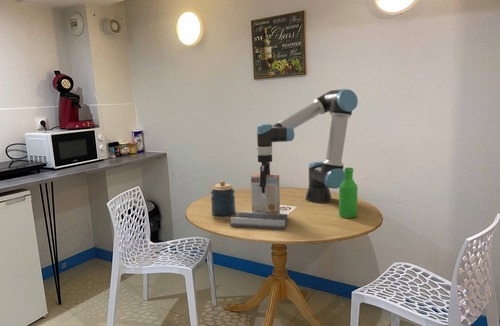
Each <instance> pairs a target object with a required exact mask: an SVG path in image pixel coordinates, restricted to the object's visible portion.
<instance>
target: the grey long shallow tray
mask: <svg viewBox="0 0 500 326" xmlns="http://www.w3.org/2000/svg"><path fill="white" fill-rule="evenodd" d="M288 221H289V218H288V213H279V214H275V213H255V212H252V211H250V212H249V211H235V216H232V217H230V227H235V228H246V229H247V228H249V229H265V230H266V229H267V230H281V231H284V230H285V229H286V227H287V225H288V223H289V222H288Z"/></svg>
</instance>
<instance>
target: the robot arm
mask: <svg viewBox="0 0 500 326" xmlns="http://www.w3.org/2000/svg"><path fill="white" fill-rule="evenodd" d="M358 100H359V99H358V96H357V94H356V93H355V92H354V91H353V90H352V89H348V88H347V89H346V88H342V89H333V90H329V91H328V92H325V93H324V94H322V95H320V96H319V97H317V98H315V99H314V100H313V102H312V103H310V104H308V105H306V106H305V107H303V108H301V109H299V110H297V111H296V112H294V113H293V114H290V115H289V116H287V117H285V118H283V119H282V120H280V121H278V122H276V123H274V124H273V125H272V124H271V123H262V124H261V123H260V124H258V125H257V128H256V129H257V130H256V135H257V136H256V138H257V139H256V140H257V147H256V150H257V162H258V163H261V165H260V168H259V170H260V171H259V174H260V185H259V187H261V199H267V198H266V176H267V175H271V168H270V167H271V163H272V162H273V143H280V142H281V143H282V142H283V143H285V142H292V141H293V140H294V138H295V130H294V129H296V128H298V127H299V126H301V125H303V124H305V123H306V122H308V121H310V120H312V119H314V118H316V117H317V116H319V115H324V114H326V113H329V115H330V116H331V122H330V128H329V136H328V142H327V148H326V149H327V150H326V155H325V160H324V161H311V162H309V164H308V188H307V191H306V194H305V200H306V201H307V202H311V203H318V204H320V203H322V204H323V203H329V202H331V201H332V194H331V190H330V189H333V190H335V189H336V190H337V189H339V186H340V185H341V183H342V182H343V180H344V179H345V171H344V166H345V165H344V163H343V156H344V155H343V154H344V147H345V140H346V134H347V128H348V121H349V119H350V118H351V117H352V114H353V111H354V110H355V109H357V107H358V103H359V101H358Z"/></svg>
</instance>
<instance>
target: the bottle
mask: <svg viewBox="0 0 500 326" xmlns="http://www.w3.org/2000/svg"><path fill="white" fill-rule="evenodd" d="M343 171H344V172H345V179H344V180H343V182H342V183H341V185H340V186H339V188H338V190H339V193H338V194H339V195H338V202H339V203H338V215H339V216H340V217H341V218H345V219H353V217H354V218H356V217H357V215H358V185H357V184H356V181H354V178H353V177H354V176H353V175H354V168H353V167H345V168H344V169H343Z"/></svg>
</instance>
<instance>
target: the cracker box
mask: <svg viewBox="0 0 500 326" xmlns="http://www.w3.org/2000/svg"><path fill="white" fill-rule="evenodd" d="M250 180H251V181H250V183H251V184H250V185H251V186H250V187H251V188H250V189H251V190H250V191H251V212H255V213H275V214H281V213H280V212H281V210H280V209H281V207H280V206H281V203H280V202H281V201H280V199H281V198H280V197H281V196H280V194H281V193H280V175H279V174H270V175H267V176H266V198H267V199H261V187H259V185H260V173H259V174H256V173H254V174H253V175H251V177H250Z"/></svg>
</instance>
